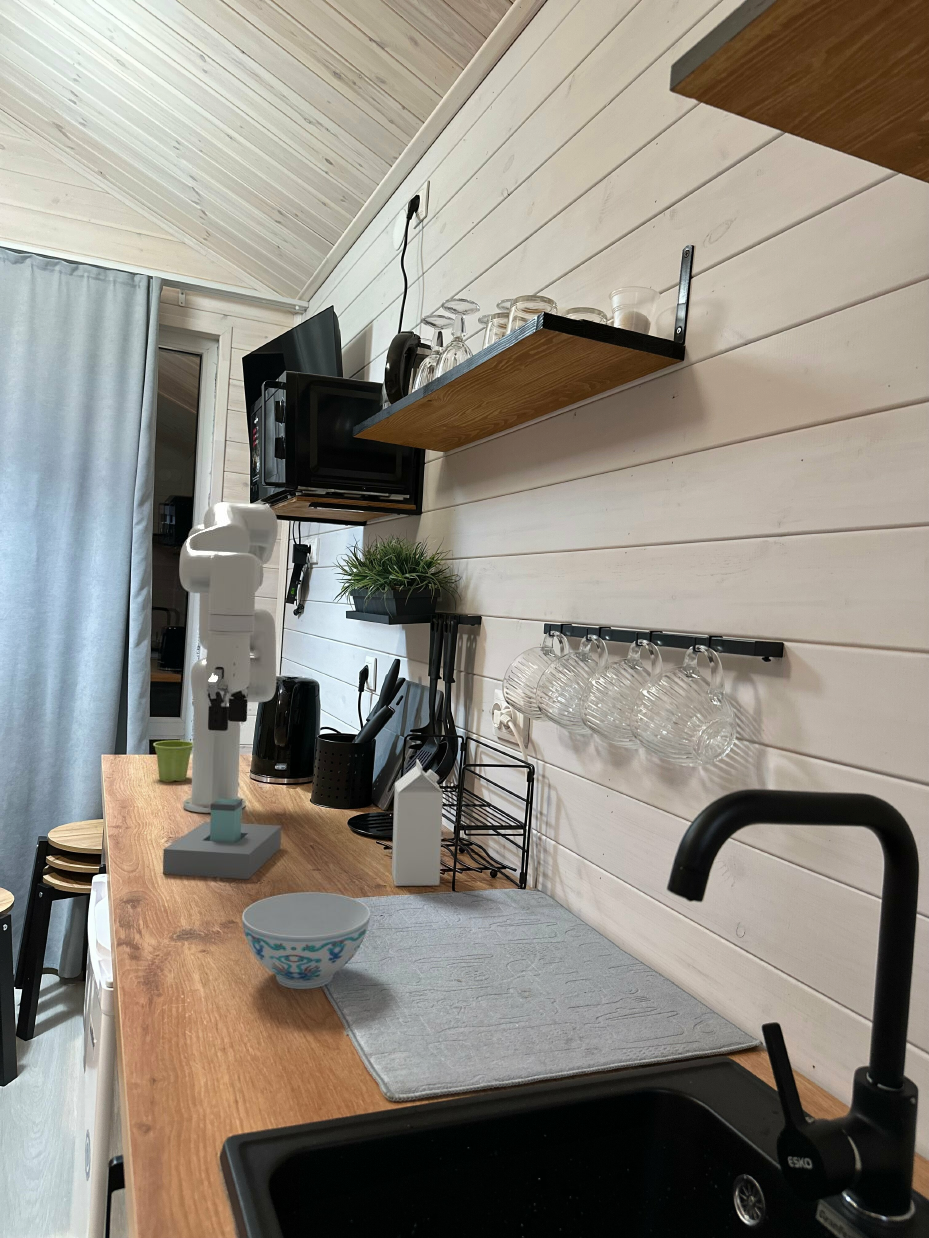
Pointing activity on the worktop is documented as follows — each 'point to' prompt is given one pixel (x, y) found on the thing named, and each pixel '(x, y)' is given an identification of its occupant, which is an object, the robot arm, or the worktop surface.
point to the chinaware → (305, 935)
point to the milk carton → (417, 829)
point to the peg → (226, 820)
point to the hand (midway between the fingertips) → (227, 725)
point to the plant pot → (173, 759)
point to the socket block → (222, 852)
